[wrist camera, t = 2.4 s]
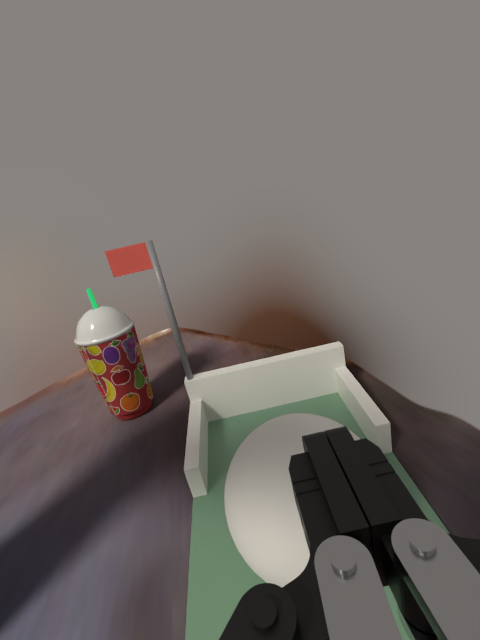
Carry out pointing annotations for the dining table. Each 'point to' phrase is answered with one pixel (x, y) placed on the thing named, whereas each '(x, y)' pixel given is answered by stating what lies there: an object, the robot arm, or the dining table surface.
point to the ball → (270, 497)
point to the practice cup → (232, 429)
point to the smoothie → (114, 360)
